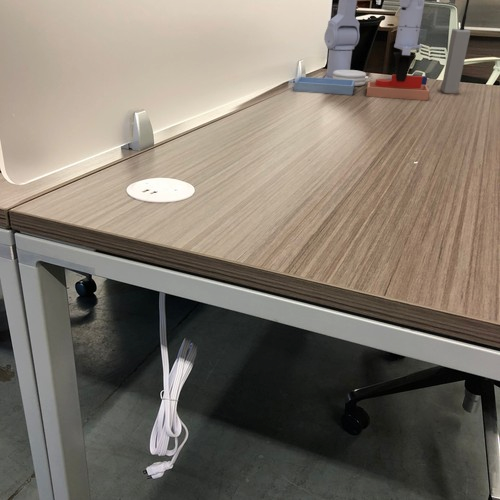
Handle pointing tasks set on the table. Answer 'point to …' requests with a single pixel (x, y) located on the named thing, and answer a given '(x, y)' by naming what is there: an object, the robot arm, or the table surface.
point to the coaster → (351, 76)
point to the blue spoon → (422, 80)
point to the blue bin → (324, 85)
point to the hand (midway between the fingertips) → (400, 80)
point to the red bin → (397, 92)
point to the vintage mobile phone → (456, 57)
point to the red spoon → (401, 82)
